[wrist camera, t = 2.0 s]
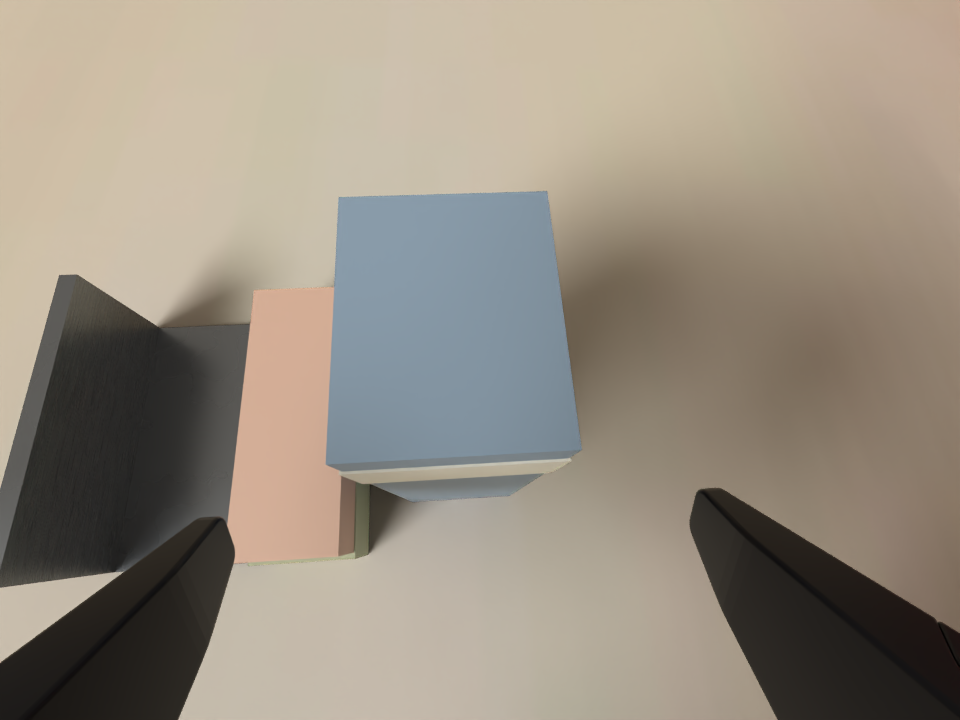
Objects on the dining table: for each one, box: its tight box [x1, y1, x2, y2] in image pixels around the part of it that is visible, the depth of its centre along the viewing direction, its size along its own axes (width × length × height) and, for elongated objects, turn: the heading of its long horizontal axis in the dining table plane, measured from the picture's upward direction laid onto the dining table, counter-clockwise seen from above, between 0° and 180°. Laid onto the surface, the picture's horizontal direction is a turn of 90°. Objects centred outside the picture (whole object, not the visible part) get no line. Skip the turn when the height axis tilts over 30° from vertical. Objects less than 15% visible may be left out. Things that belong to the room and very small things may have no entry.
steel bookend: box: [0, 275, 250, 588], centre depth 17 cm, size 10×6×5 cm, turn 3°
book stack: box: [227, 287, 370, 566], centre depth 18 cm, size 10×4×4 cm, turn 3°
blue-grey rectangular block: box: [325, 191, 582, 502], centre depth 14 cm, size 5×4×12 cm
